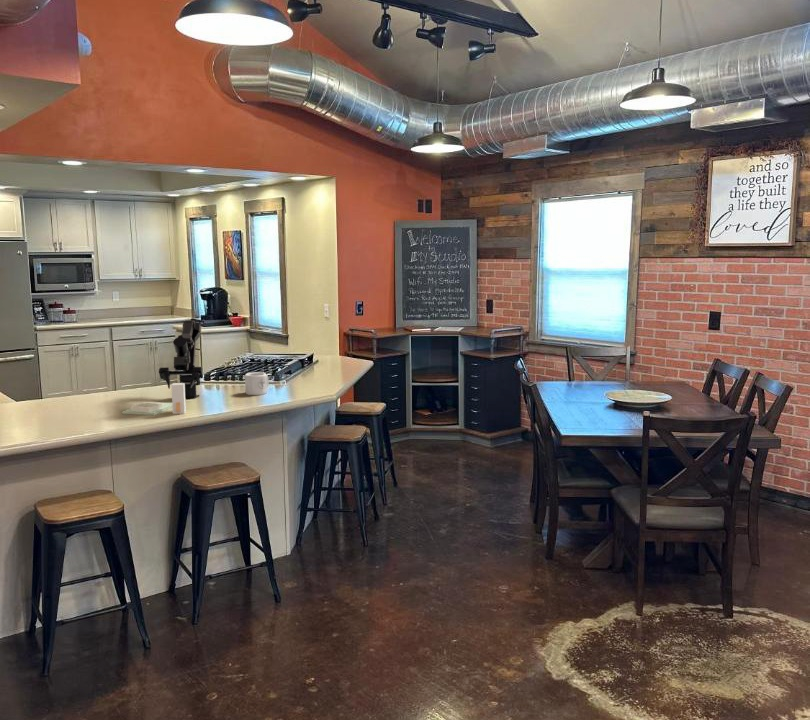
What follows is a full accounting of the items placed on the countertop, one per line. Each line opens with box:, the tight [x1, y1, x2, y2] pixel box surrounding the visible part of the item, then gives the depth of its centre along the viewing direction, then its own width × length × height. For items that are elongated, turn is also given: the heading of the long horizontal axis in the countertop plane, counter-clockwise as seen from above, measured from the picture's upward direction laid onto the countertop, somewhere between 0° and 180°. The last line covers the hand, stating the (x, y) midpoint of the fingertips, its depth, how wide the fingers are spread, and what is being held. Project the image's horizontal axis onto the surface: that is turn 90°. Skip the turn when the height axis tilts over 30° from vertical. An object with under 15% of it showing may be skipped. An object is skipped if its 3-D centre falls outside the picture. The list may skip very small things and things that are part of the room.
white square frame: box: [130, 401, 163, 412], centre depth 305 cm, size 10×10×2 cm
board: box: [121, 401, 172, 416], centre depth 309 cm, size 20×15×1 cm
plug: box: [170, 382, 187, 415], centre depth 302 cm, size 5×5×13 cm
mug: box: [244, 371, 269, 396], centre depth 347 cm, size 14×11×10 cm
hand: (179, 388), depth 305 cm, fingers open, 9 cm apart
